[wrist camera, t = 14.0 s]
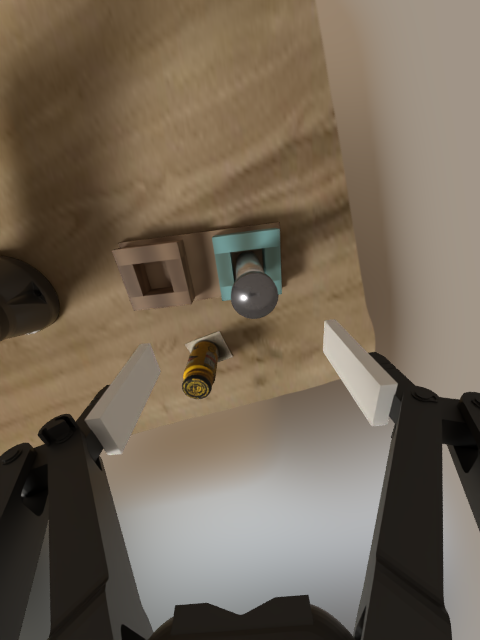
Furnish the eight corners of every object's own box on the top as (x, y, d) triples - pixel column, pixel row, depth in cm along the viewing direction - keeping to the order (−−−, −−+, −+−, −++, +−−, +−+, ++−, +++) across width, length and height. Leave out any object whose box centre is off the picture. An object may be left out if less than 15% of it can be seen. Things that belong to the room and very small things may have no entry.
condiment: (185, 344, 47) (169, 381, 37) (219, 330, 46) (213, 365, 35) (200, 367, 50) (190, 409, 40) (232, 356, 49) (231, 395, 38)
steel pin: (235, 278, 40) (234, 321, 24) (231, 250, 37) (227, 276, 21) (262, 274, 39) (279, 316, 23) (259, 246, 37) (277, 270, 21)
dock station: (142, 304, 43) (131, 315, 38) (121, 242, 38) (105, 245, 33) (280, 288, 42) (286, 297, 37) (278, 222, 37) (284, 223, 32)
